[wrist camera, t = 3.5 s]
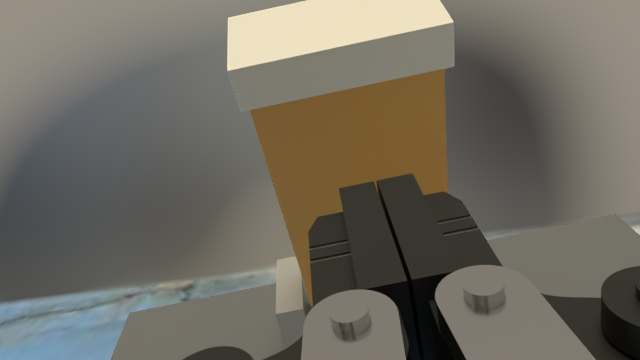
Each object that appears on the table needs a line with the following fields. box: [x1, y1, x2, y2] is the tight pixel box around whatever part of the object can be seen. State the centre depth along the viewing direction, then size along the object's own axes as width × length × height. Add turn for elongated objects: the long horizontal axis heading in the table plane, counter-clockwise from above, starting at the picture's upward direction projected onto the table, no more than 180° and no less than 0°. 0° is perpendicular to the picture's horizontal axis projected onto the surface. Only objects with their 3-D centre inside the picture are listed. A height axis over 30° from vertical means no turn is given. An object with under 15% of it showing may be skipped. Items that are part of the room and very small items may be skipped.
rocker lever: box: [227, 0, 454, 308], centre depth 19 cm, size 5×3×13 cm, turn 94°
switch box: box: [111, 214, 640, 360], centre depth 23 cm, size 24×10×8 cm, turn 94°
